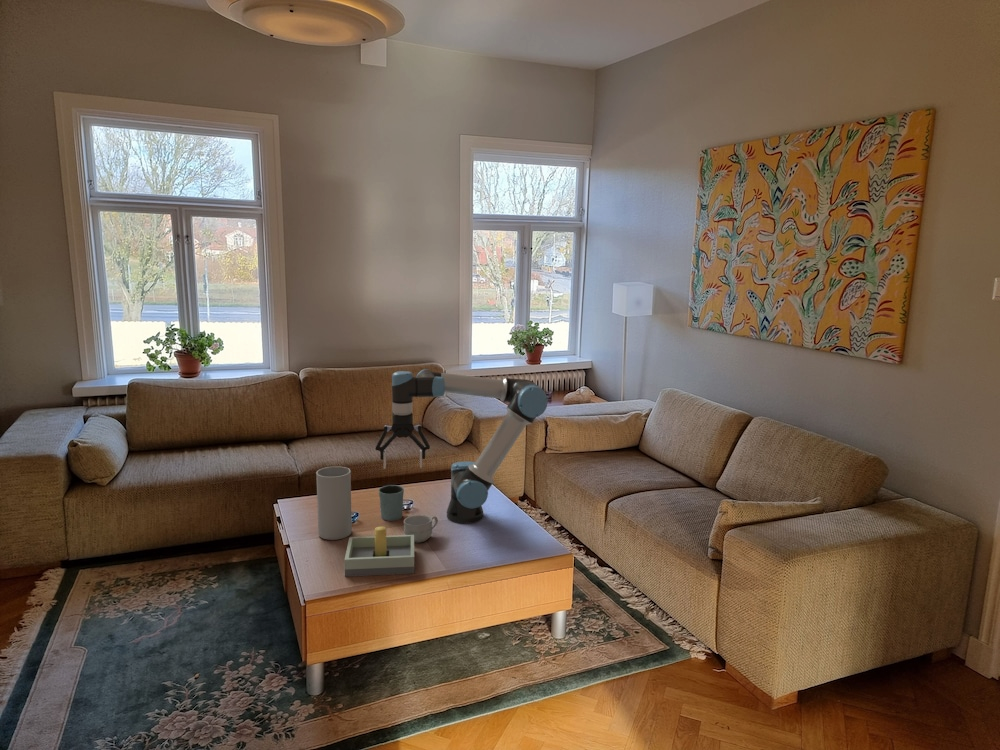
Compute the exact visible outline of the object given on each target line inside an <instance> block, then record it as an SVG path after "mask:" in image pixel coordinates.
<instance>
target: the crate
mask: <svg viewBox="0 0 1000 750" xmlns="http://www.w3.org/2000/svg"><path fill="white" fill-rule="evenodd" d="M347 542H348V543H347V547H346V551H345V556H344V577H360V576H361V577H363V576H386V575H387V576H389V575H407V574H411V573H412V574H415V542H414V535H405V534H400V535H399V534H396V535H394V534H393V535H386V547H387V556H384V557H375V535H374V536H372V535H368V536H367V535H366V536H350V537H349V536H348V541H347Z"/></svg>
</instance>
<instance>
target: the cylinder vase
mask: <svg viewBox="0 0 1000 750" xmlns="http://www.w3.org/2000/svg"><path fill="white" fill-rule="evenodd" d="M315 473H316V498H317V499H316V501H317V505H316V506H317V528H318V529H317V531H318V533H317V534H318V536H319V537H320V538H321V539H324V540H327V541H336V540H337V541H338V540H343V539H346V538H347V537H349V536H350V535H351V534H352V531H353V527H352V526H353V525H352V524H353V523H352V485H351V482H352V481H351V480H352V477H351V476H352V475H351V469H350V468H348V467H345V466H327V467H322V468H320V469H318V470H316V472H315Z"/></svg>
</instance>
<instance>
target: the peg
mask: <svg viewBox="0 0 1000 750" xmlns="http://www.w3.org/2000/svg"><path fill="white" fill-rule="evenodd" d="M374 536H375V557H384V556H387V547H386V536H387V527H385V526H377V527H375V528H374Z"/></svg>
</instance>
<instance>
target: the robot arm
mask: <svg viewBox="0 0 1000 750" xmlns="http://www.w3.org/2000/svg"><path fill="white" fill-rule="evenodd" d="M391 375H392V381H391V393H392V396H391V398H392V400H391V401H392V402H391V403H392V404H391V405H392V414H391V415H392V416H391V417H392V419H391V420H392V424H391V425H387V424H385V425H384V427H383V431H382V433H381V435H380V437H379V440H378V441H377V444H376V445H375V447H374V448H375V451H379V452H380V454H379V455H380V456H379V457H380V458H379V459H380V460H381V461H383V469H384V470H385V469H387V458H386V457H387V453H386V452H387V451H386V449H387V448H388V446H389V445H391V443H392V442H393V441H394V439H396V437H397V438H408V437H409V438H410V439H411V440H412V441H413V442H414V444H416V445H417V446H418V448H419V468H420V469H423V460H425V459H426V451H427V450H430V449H431V445H430V443H429V442H428V439H427V437H426V436H425V434H424V432H423V429H422V424H417V425H414V421H413V420H414V418H413V417H414V416H413V415H414V414H413V411H414V405H413V404H414V403H413V400H414V399H413V398H437V397H439V398H440V397H443V396H445V394H446V393H450V394H457V395H465V396H474V397H484V398H491V399H499V400H500V401H501V402H505V403H508V405H507V406H506V410H507V412H506V414H505V416H504V418H503V419H502V421H501V422H500V424H499V425H498V427H497V429H496V430H495V432H494V433H493V435H492V436H491V438H490V440H488V442H487V443H486V445H485V447H484V448H483V450H482V452H481V453H480V454H479V456H478V458H477V459H476V461H467V460H466V461H456V462H454V463H452V464H451V469H450V472H451V473H450V478H451V480H450V482H451V483H450V484H451V485H450V499H449V503H448V506H447V509H446V518H447V519H448V521H451V522H453V523H458V524H473V523H476V522H479V521H481V520H482V519H483V518H484V508H483V505H484V504H485V503H486V501H487V500H488V497H489V496H488V495H489V490H490V488H491V487H492V486H493V484H494V477H493V476H494V475H495V474H496V472H497V470H498V469H499V468H500V466H501V464H502V462H504V460H505V458H506V457H507V455H508V453H509V452H510V451H511V450H512V448H513V446H514V445H515V443H516V442H517V440H518V438H519V437H520V435H521V434H522V432H523V431H524V429H525V427H526V426H527V425H532V424H533V423H534V421H536V420H535V419H537V417H540V416H542V415H543V414H544V413H545V412H546V409H547V407H548V396H547V393H546V392H545V390H544V389H543V388H542V387H540V386H539V385H538V384H537V383H535V382H534V381H532V380H530V379H524V378H511V377H510V378H508V377H503V379H496V378H490V377H487V378H486V377H480V376H471V375H463V374H457V373H456V374H455V373H448V372H447V373H446V372H437V371H432V370H430V369H427V368H426V369H422V370H420V371H419V372H418V373H417V374H416V376H414V374H413V372H411V371H407V370H406V371H405V370H399V371H395V372H393V373H392V374H391ZM390 430H391V431H392V434H391V435H390V437H388V439H387V440H386V441H385V442H384V444H383V441H384V439H385V438H386V435H387V433H388V432H390ZM414 430H415V431H416V432H417V433H418V434H419V437H420V439H421V440H422V442H423V443H424V444H423V443H422V442H421V441H420V440H419V439H418V437H416V436H415V434H414ZM381 445H382V446H381Z"/></svg>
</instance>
